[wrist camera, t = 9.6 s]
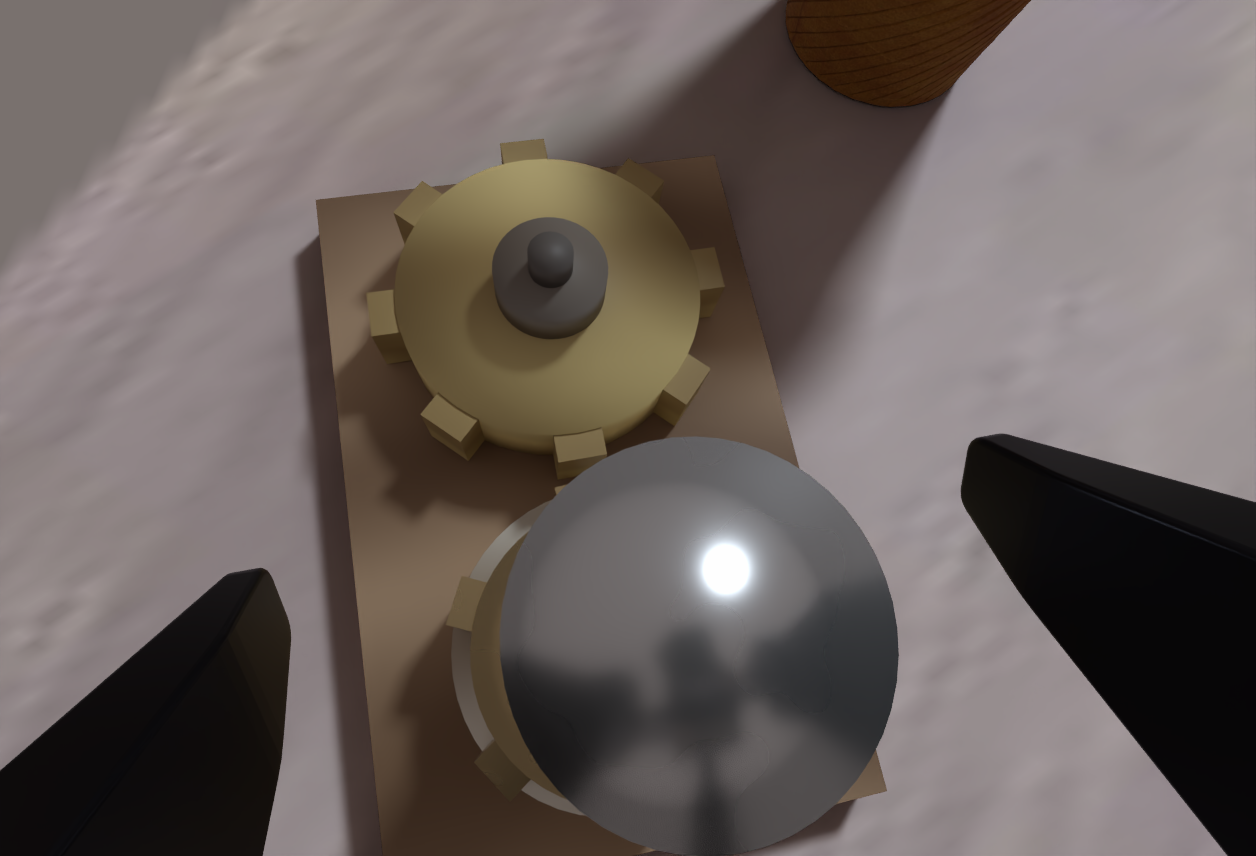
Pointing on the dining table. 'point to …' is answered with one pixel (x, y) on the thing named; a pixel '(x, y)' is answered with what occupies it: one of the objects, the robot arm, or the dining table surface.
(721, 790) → the pinion
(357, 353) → the gear board
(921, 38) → the disposable coffee cup
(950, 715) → the dining table surface
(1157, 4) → the dining table surface
